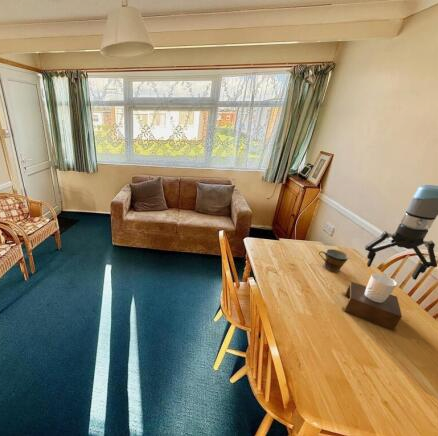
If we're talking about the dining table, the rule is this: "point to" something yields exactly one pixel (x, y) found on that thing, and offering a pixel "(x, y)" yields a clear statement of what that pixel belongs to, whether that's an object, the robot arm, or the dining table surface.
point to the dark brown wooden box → (372, 307)
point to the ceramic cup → (334, 259)
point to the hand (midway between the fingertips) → (390, 271)
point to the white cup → (379, 288)
